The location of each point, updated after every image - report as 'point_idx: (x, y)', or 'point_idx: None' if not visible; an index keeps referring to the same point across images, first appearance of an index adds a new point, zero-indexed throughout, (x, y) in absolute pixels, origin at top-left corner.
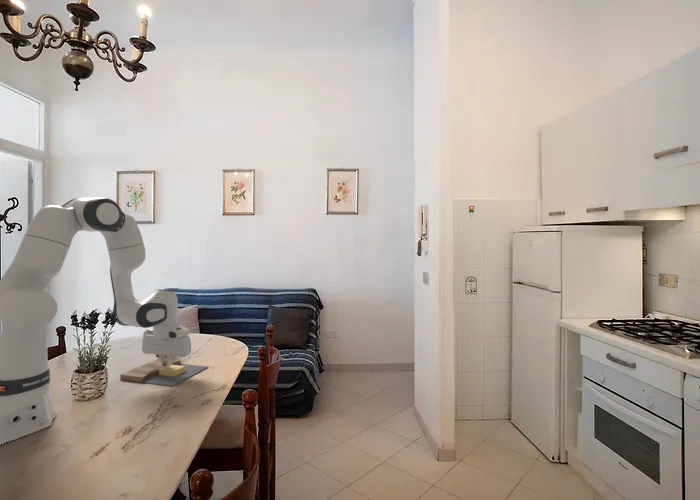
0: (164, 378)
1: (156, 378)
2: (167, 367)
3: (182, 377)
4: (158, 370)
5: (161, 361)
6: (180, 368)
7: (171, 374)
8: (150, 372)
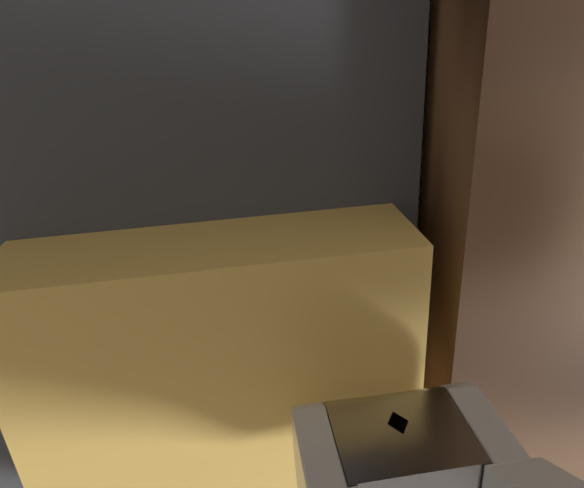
0: (104, 81)
1: (280, 16)
2: None
3: None
4: (457, 258)
5: (541, 465)
6: (17, 470)
7: (71, 251)
8: (539, 66)
